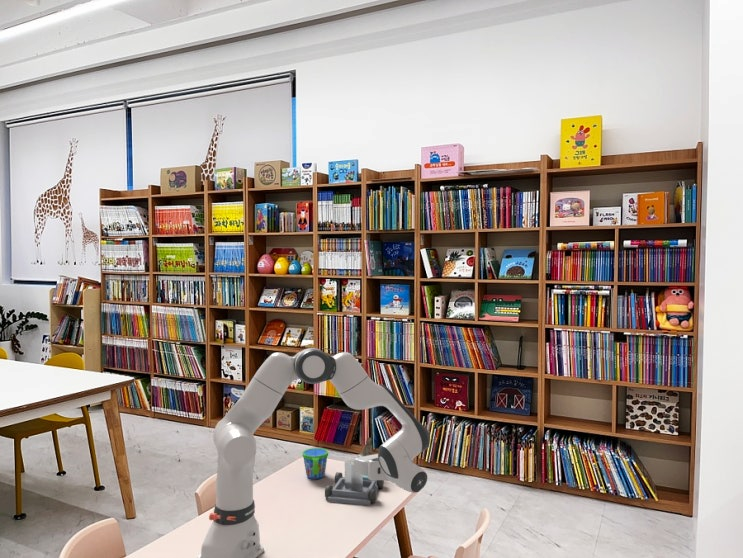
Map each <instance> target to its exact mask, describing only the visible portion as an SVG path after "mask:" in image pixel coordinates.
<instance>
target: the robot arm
mask: <svg viewBox="0 0 743 558" xmlns="http://www.w3.org/2000/svg"><path fill="white" fill-rule="evenodd" d="M296 380H301V381H302V382H303V383H307V384H311V385H315V384H316V385H317V384H321V383H323V382H326V381H329V382H330V383H331V384H332V386H334V388H335V389H336V391H337V393H338V394H339V397H341V400H342V401H343V402H344V403H345V405H346V406H347V407H348V408H350V409H353V410H356V411H357V410H358V411H361V410H368V409H371V408H376V407H384V408H386V409H387V410H389V412H390V413H391V414H392V415H393V417H395V418H396V420H397V421H398V422H399V423H400V424H401V429H399V430H398V431H397V432H396V433H395V434H394V435H392V436H391V437H390V438H388V439H387V440H385V441H384V442H383V443H382V444H381V445H380V446H378V452H377V453H374V454H373V455H369V456H363V455H362V454H360V453H359V454H357V455H356V457H355V458H353V459H354V469H355V470H356V471H357V472H359V473H360V474H362V475H364V476H368V479H369V480H384V482H390V483H393V484H395V485H396V486H397V487H399V488H400V489H403V490H404V491H406V492H407V493H408V492H409V493H412V494H413V493H415V494H416V493H418V492H420V491H421V490H423V489H424V487H425V486H426V484H427V481H428V474H427V472H426V470H424V469H423V468H422V467H420V466H419V465H418V464H416V463H414V459H415V458H416V457H417V456H419V455H420V454H422V453H423V452H424V451H427V450H428V449H429V447H430V443H431V434H430V432H429V430H428V429H427V428H426V427H425V426H424V424H423V423H421V421H419V420H418V419H416V417H415V416H414V415H413V414H412V413H411V411H410V410H409V409H408V408H407V407H406V406H405V404H404V403H403V402H402V401H401V400H400V399H399V398H398V396H397V395H396V394H395V393H394V392H393V391H392V390H391V389H390V388H389V387H387V386H386V385H385V384H378V383H376V382H374V380H372V379H371V378H370V376H369V375H368V373H367V372H366V370H365V368H364V367H363V366H362V365H361V363H360V362H359V361H358V360H357V359H356V358H355V357H354V356H353V354H352V353H350V352H347V351H342V352H339V353H336V354H334V355H333V356H331V355H329V354H328V353H325V352H324V351H322V350H321V349H319V348H316V347H308V348H305V349H301V350H300V351H299V352H297V353H295V354H293V355H291V356H290V355H289V354H286V353H285V352H284V353H283V352H280V351H279V352H273V353H271V354H270V355H269V356H268V357H267V358H266V359H265V361H264V362H263V363H262V364H261V366H260V367H259V368H258V369H257V371H256V372H255V374H254V376H252V378H251V380H250V382H249V383H248V384H247V386H246V387H245V389H244V391H243V392H242V394H241V396H240V397H239V399H238V400H237V401H236V402H235V404H234V405H233V406H232V407H231V408H230V409H229V411H227V413H226V414H225V415H224V416H223V418H222V419H220V420H219V421H218V422H217V424H216V425H215V426H214V430H213V437H212V438H213V442H214V445H215V448H216V451H217V471H216V479H215V499H216V500H215V502H216V503H215V504H214V509H213V512H211V513H209V516H208V520H209V521H212V522H211V523H210V527H209V528H208V531H207V533H206V535H205V537H204V539H203V542H202V544H201V549H200V550H201V551H200V553H199V554H198V556H197V558H257V557H259V556H260V555H261V554H262V553H263V552H265V547H264V546H263V545H262V544H261V536H260V526H259V525H260V524H259V522H258V520H257V519H256V517H255V508H256V504H255V500H254V470H255V463H256V453H257V442H256V439H255V436H254V434H255V432H256V431H257V430H258V429H259V427H260V426H261V425H262V424H263V423H264V422H265V421H266V420H267V419H269V418H271V416H272V414H273V412H275V409H276V408H277V406H278V404H279V402H280V401H281V400H282V398H283V396H284V395H285V393H286V392H287V389H288V387H290V385H292V383H293V382H295V381H296Z"/></svg>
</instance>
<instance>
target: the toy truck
mask: <svg viewBox="0 0 743 558" xmlns="http://www.w3.org/2000/svg"><path fill="white" fill-rule="evenodd" d="M384 483H385V481H384V480H369V479H368V476H364V475H363V492H359V491H348V490H345V476H343V473H342V472H337V471H336V472H335V474H334V484H335V485H334V486H333V485H330V484H329V485H328V484H327V485H326V486H325V489H324V497H325V498H327V502H329V503H340V504H349V505H361V506H371V503H376V502H377V499H378V490H379V489H383V488H384V486H385V485H384Z"/></svg>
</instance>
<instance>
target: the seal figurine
mask: <svg viewBox="0 0 743 558" xmlns="http://www.w3.org/2000/svg"><path fill="white" fill-rule="evenodd" d="M365 442H366V443H365V444H364V445H363V447H362V450H361V452H360V453H359V454H362V455H363V456H369V455H374V454H373V445H372V438H371V437H367V439H366V441H365Z"/></svg>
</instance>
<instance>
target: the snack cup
mask: <svg viewBox="0 0 743 558" xmlns="http://www.w3.org/2000/svg"><path fill="white" fill-rule="evenodd" d="M328 456H329V450H328V449H325V448H321V447H314V448H313V447H311V448H308V449H305V450H303V451H302V457H303V463H304V468H305V476H306V477H307V479H311V480H312V479H313V480H319V479H322V478H324V477H325V475H326V469H327V468H326V467H327V461H328Z"/></svg>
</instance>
